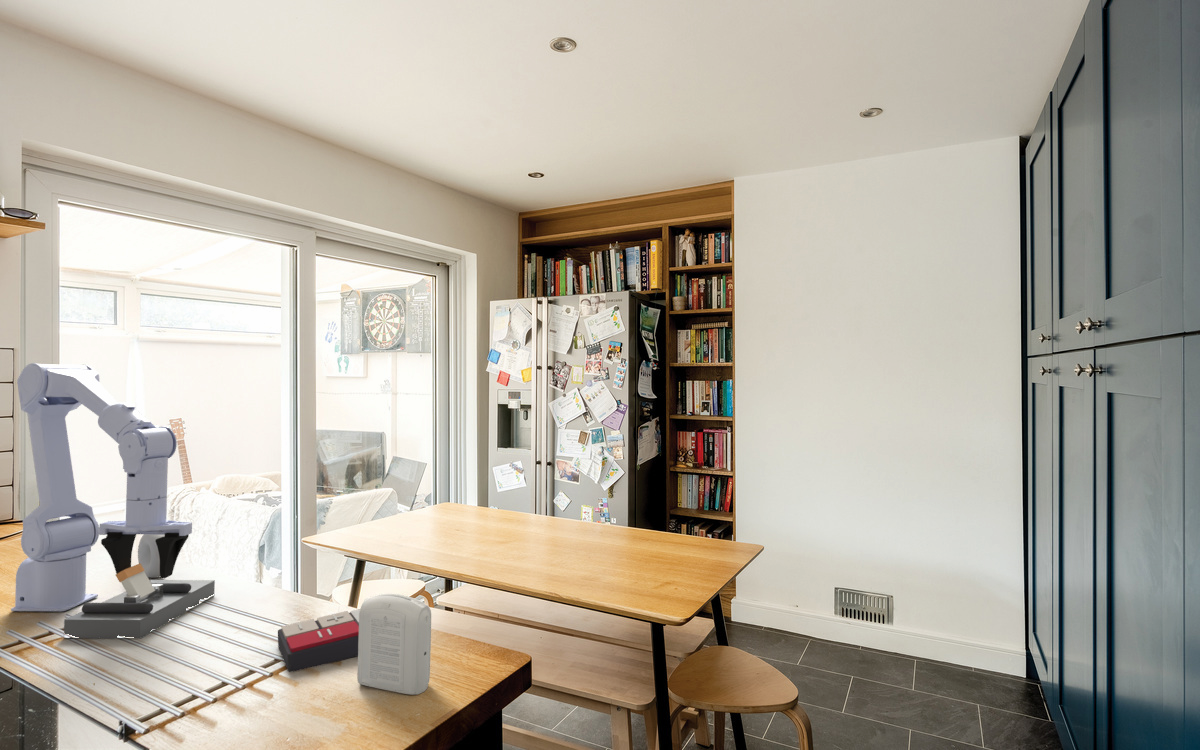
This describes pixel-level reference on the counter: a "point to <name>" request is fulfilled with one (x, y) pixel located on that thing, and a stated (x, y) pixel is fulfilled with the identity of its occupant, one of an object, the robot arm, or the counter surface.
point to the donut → (149, 555)
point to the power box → (137, 610)
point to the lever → (136, 582)
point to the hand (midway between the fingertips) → (144, 576)
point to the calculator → (319, 640)
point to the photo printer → (394, 644)
